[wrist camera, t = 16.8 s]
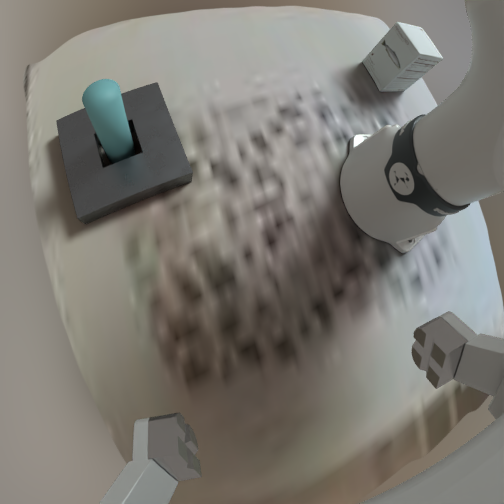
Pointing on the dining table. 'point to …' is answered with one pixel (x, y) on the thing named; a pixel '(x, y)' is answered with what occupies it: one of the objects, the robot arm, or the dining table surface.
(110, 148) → the peg
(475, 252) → the dining table surface
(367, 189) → the robot arm
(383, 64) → the supplement box
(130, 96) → the socket block
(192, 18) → the dining table surface
